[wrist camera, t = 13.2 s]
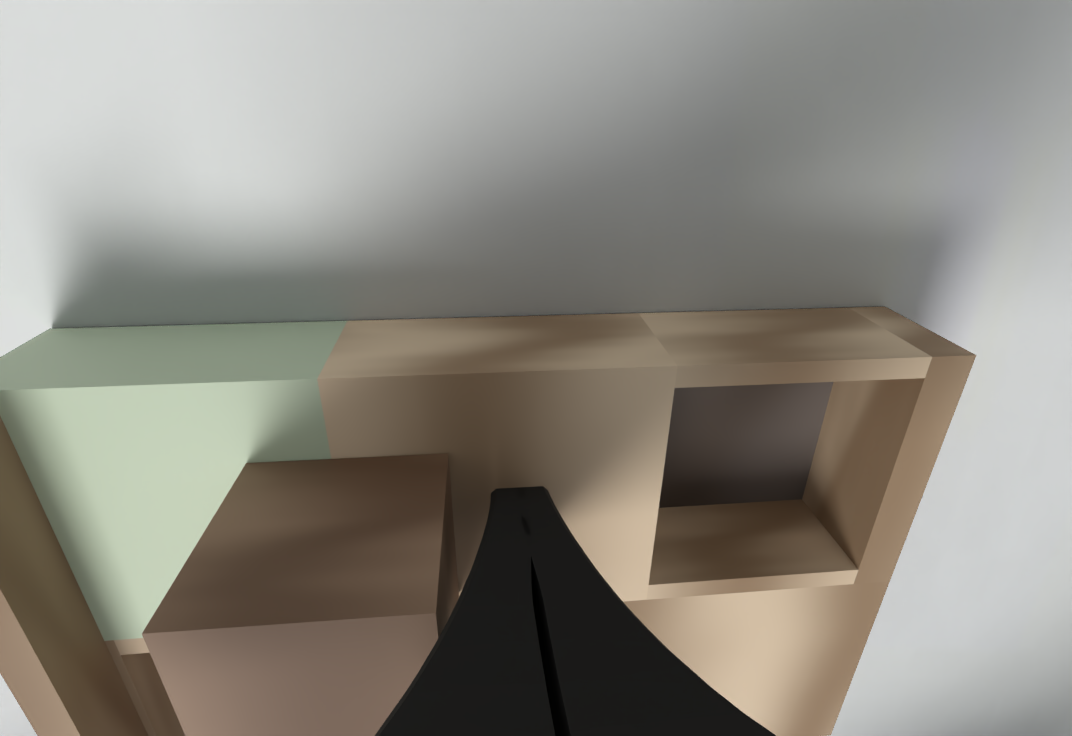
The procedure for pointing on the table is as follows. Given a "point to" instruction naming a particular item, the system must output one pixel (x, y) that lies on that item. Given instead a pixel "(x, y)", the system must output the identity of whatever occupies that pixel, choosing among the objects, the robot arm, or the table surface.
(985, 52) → the table surface
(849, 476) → the board
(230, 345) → the pad
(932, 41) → the table surface
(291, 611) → the walnut block
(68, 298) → the table surface
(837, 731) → the table surface
